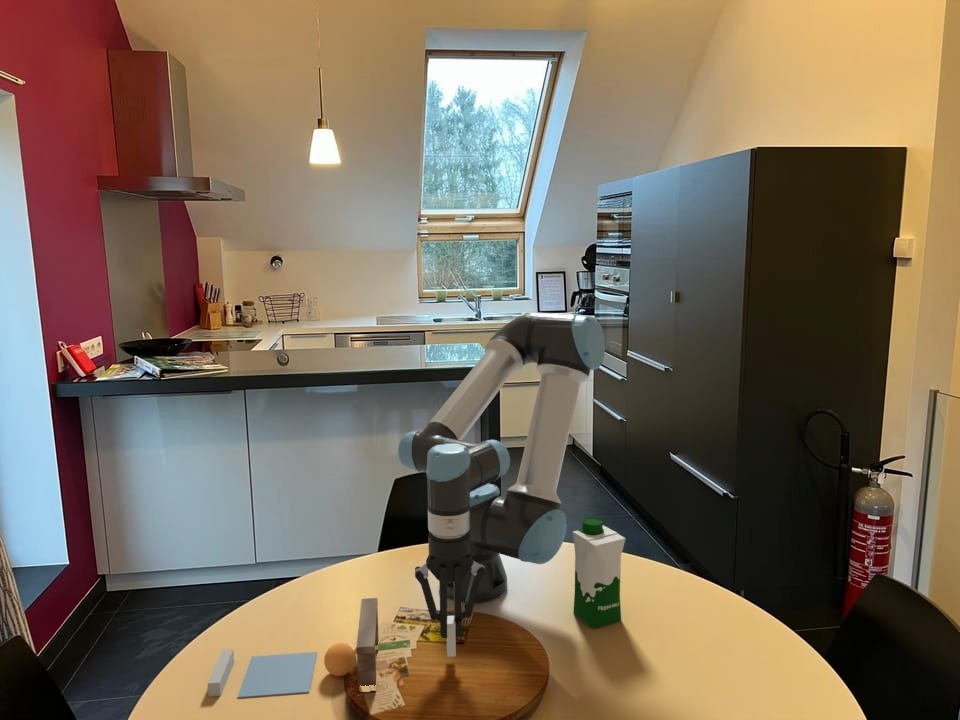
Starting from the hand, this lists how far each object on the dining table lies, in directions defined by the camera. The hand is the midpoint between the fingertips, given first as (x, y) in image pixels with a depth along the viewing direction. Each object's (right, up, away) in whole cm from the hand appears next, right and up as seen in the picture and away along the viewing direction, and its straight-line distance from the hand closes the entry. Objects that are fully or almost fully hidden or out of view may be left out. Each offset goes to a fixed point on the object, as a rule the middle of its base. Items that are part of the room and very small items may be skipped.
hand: (451, 652), depth 130 cm
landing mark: (-31, -3, -3) cm, 31 cm away
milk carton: (+29, +1, +15) cm, 33 cm away
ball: (-20, 0, -3) cm, 20 cm away
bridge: (-15, -2, -1) cm, 15 cm away
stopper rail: (-41, -3, -4) cm, 41 cm away
